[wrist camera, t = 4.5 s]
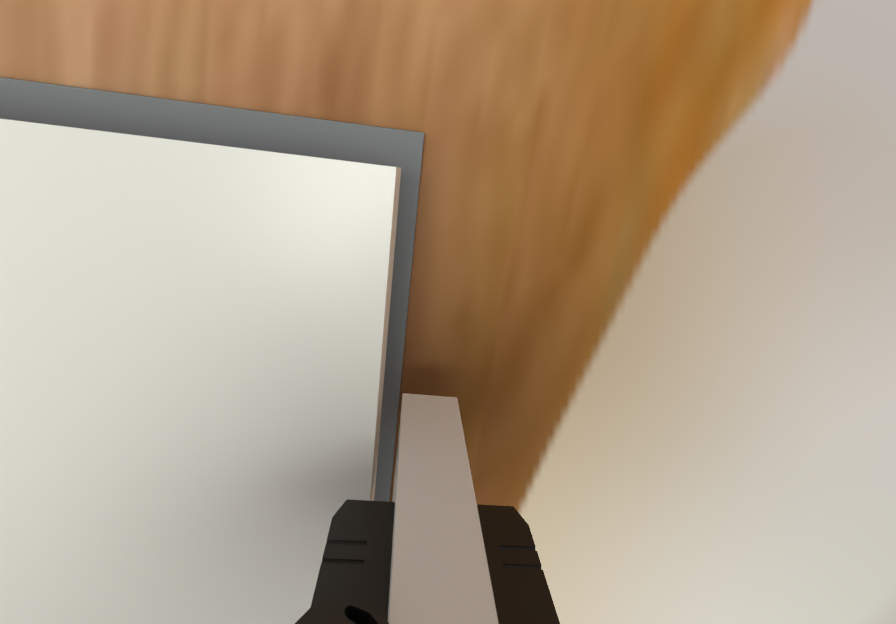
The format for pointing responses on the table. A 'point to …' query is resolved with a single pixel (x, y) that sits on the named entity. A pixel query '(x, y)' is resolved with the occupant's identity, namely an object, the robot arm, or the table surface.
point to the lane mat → (265, 135)
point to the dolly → (183, 373)
